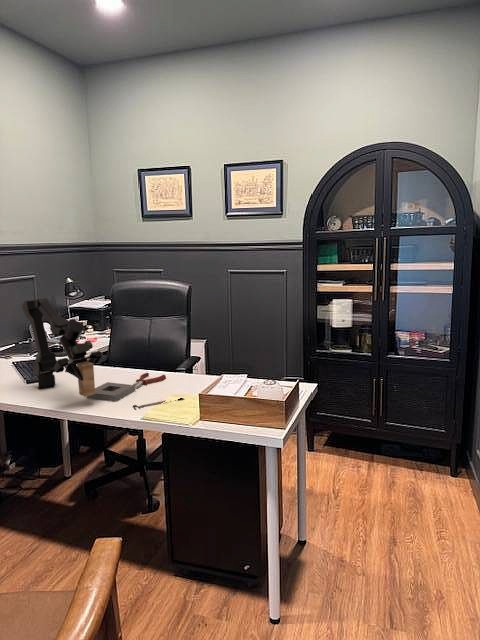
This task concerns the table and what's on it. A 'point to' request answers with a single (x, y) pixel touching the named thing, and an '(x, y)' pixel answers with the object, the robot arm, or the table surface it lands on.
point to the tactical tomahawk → (147, 405)
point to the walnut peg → (86, 379)
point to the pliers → (147, 380)
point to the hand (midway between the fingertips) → (87, 378)
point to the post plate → (112, 391)
